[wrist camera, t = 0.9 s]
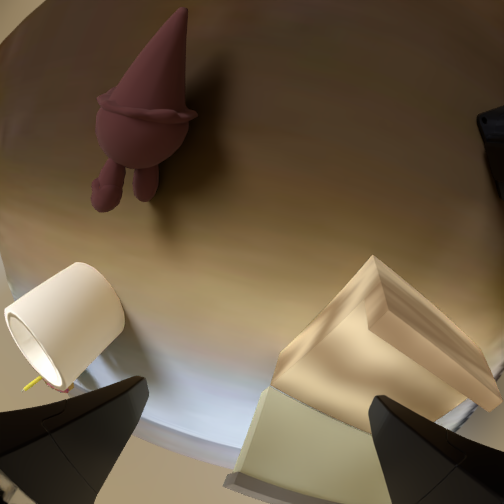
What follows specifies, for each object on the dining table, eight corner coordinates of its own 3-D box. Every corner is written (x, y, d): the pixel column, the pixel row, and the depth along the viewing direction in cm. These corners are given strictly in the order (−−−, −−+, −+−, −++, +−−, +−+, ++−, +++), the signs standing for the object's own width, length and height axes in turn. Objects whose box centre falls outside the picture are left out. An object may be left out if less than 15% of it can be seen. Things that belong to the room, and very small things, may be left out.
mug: (122, 363, 32) (77, 416, 23) (70, 324, 33) (22, 365, 24) (128, 290, 26) (57, 352, 17) (65, 247, 27) (-4, 287, 18)
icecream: (111, -3, 10) (65, 193, 18) (183, -13, 8) (111, 247, 16) (184, 18, 15) (133, 178, 23) (259, 29, 13) (186, 220, 21)
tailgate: (268, 383, 20) (233, 483, 12) (398, 443, 20) (397, 519, 12) (258, 391, 21) (222, 486, 13) (386, 449, 21) (383, 523, 13)
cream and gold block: (372, 254, 18) (388, 310, 12) (480, 348, 18) (503, 401, 12) (279, 352, 24) (261, 413, 18) (394, 415, 24) (396, 467, 18)
